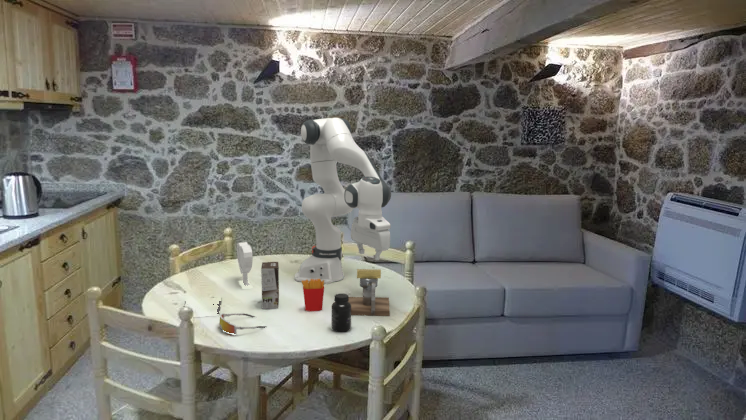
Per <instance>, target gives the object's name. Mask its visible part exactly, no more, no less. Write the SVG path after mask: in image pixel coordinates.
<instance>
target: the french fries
mask: <svg viewBox="0 0 746 420" xmlns="http://www.w3.org/2000/svg"><path fill="white" fill-rule="evenodd" d="M314 281H315V282H314ZM301 284H302V292H303V300H304V309H305V310H304V311H306V312H320V311H323V303H324V296H325V295H324V293H325V284H324V280H323V281H322V282H321V280H320V279H315V280H314V279H310V281H309V282H308V280H305V281H302V282H301Z"/></svg>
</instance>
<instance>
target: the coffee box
mask: <svg viewBox="0 0 746 420" xmlns="http://www.w3.org/2000/svg"><path fill="white" fill-rule="evenodd" d="M260 272H261V274H260V275H261V309H262V310H269V309H271V310H272V309H276V310H277V309H279V305H280V276H279V275H280V272H279V261H265V262H264V261H263V262H261V269H260Z"/></svg>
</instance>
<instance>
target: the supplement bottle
mask: <svg viewBox="0 0 746 420" xmlns="http://www.w3.org/2000/svg"><path fill="white" fill-rule="evenodd" d="M349 297H350V296H349V294H347V293H336V294H335V295H334V299H333V300H334V301H333V303H332V305H331V324H330V325H331V330H333V331H334V332H336V333H337V332H338V333H346V332H349V331H350V330H351V328H352V315H351V304H350V303H349V302H348V301H349Z"/></svg>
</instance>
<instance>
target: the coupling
mask: <svg viewBox="0 0 746 420" xmlns="http://www.w3.org/2000/svg"><path fill="white" fill-rule="evenodd" d="M356 279H359V287H361V288H362V289H363V288H367V290H371V288H372V282H376V287H375V288H377V287H378V286H379V283H378V281H379V279H382V270H381V269H377V268H376V269H373V268H371V269H368V268H367V269H365V268H364V269H363V268H361V269H360V268H357V269H356Z"/></svg>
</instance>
